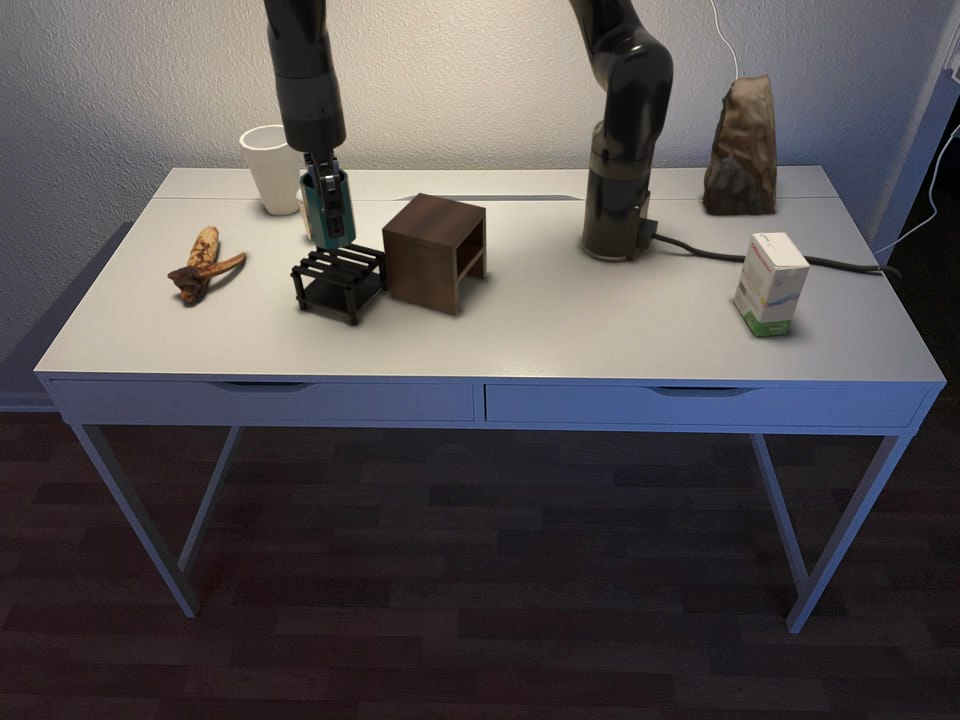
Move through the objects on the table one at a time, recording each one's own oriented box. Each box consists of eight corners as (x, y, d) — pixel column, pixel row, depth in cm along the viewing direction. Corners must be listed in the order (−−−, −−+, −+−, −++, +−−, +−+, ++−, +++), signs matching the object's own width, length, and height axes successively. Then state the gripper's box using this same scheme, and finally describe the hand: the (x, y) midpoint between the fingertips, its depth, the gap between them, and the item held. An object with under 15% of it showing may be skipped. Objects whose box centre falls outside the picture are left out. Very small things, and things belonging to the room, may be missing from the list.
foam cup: (321, 201, 129) (308, 132, 121) (285, 225, 124) (269, 154, 115) (282, 188, 133) (267, 120, 124) (246, 210, 128) (227, 141, 119)
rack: (391, 288, 110) (386, 249, 105) (355, 326, 103) (348, 287, 98) (336, 273, 113) (328, 235, 108) (298, 309, 106) (289, 270, 102)
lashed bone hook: (232, 307, 108) (253, 238, 121) (225, 282, 104) (247, 214, 117) (168, 308, 107) (196, 239, 120) (159, 283, 104) (189, 215, 117)
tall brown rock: (701, 216, 123) (726, 102, 110) (685, 180, 133) (706, 71, 119) (775, 215, 123) (809, 100, 110) (753, 179, 133) (782, 69, 119)
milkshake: (331, 246, 119) (321, 192, 112) (300, 243, 119) (288, 189, 113) (340, 231, 122) (331, 178, 115) (310, 228, 123) (299, 175, 116)
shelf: (487, 275, 112) (486, 207, 104) (455, 316, 105) (451, 246, 96) (424, 259, 115) (419, 192, 107) (390, 297, 108) (381, 228, 100)
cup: (364, 230, 102) (356, 172, 96) (340, 253, 98) (330, 193, 92) (328, 221, 104) (317, 163, 98) (302, 242, 100) (290, 184, 94)
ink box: (788, 335, 100) (813, 265, 92) (753, 337, 100) (776, 268, 92) (763, 297, 107) (785, 229, 99) (731, 300, 106) (750, 232, 98)
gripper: (353, 123, 84) (370, 244, 95) (329, 79, 94) (347, 193, 105) (289, 134, 82) (314, 256, 93) (271, 88, 92) (296, 203, 103)
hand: (331, 222), depth 99 cm, fingers closed on cup, 6 cm apart
